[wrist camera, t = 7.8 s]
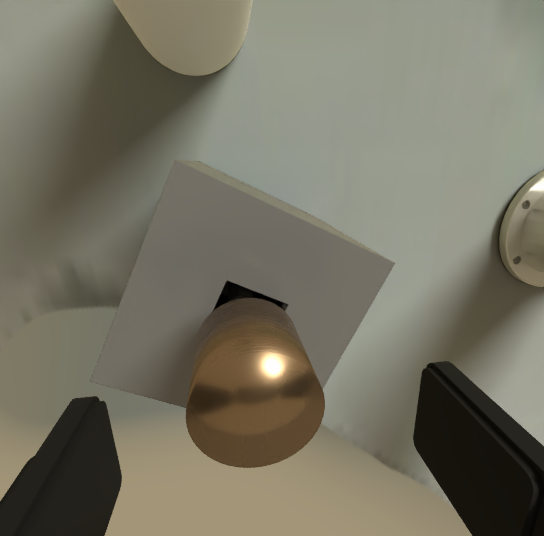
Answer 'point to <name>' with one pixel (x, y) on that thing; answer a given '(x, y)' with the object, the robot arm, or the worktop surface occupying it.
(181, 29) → the container
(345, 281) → the grey box
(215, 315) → the plunger
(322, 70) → the worktop surface
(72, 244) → the worktop surface
